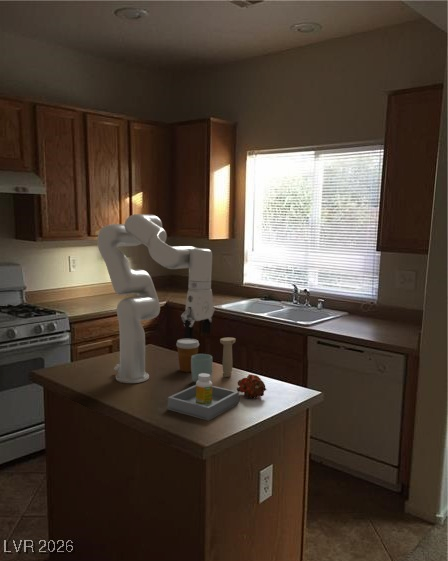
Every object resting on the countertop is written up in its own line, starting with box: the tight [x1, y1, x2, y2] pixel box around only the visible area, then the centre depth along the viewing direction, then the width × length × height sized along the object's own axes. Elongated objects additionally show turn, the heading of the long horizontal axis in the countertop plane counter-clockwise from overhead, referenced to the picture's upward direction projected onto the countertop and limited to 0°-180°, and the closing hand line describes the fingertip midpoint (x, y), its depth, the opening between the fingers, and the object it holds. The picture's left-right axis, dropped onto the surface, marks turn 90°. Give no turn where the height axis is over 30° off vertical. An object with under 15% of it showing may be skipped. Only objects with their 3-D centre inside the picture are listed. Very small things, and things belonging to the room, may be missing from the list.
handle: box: [219, 337, 237, 378], centre depth 196 cm, size 5×6×15 cm
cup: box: [191, 353, 213, 383], centre depth 189 cm, size 8×8×10 cm
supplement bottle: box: [195, 373, 213, 406], centre depth 164 cm, size 5×5×10 cm
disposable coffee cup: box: [176, 338, 200, 373], centre depth 204 cm, size 10×10×12 cm
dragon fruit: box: [236, 373, 267, 400], centre depth 174 cm, size 8×8×12 cm
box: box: [167, 384, 240, 421], centre depth 164 cm, size 16×18×4 cm
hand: (197, 335), depth 169 cm, fingers open, 9 cm apart
